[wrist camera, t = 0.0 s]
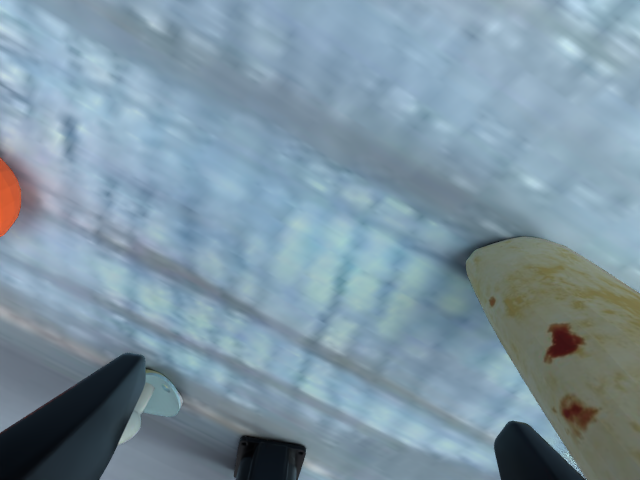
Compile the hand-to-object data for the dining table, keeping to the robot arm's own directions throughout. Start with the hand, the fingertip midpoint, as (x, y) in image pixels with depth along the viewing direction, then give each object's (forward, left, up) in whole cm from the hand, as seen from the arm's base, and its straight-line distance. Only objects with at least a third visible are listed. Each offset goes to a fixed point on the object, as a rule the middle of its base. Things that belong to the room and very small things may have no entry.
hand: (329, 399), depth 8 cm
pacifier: (-20, +12, -15) cm, 28 cm away
